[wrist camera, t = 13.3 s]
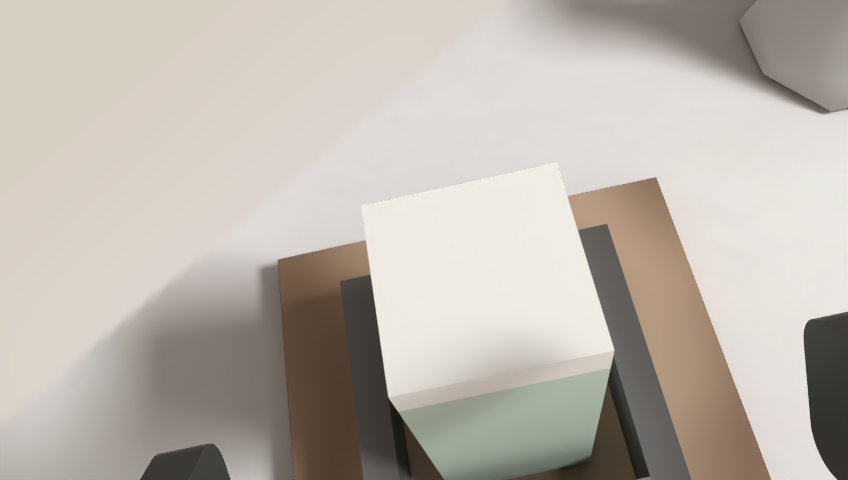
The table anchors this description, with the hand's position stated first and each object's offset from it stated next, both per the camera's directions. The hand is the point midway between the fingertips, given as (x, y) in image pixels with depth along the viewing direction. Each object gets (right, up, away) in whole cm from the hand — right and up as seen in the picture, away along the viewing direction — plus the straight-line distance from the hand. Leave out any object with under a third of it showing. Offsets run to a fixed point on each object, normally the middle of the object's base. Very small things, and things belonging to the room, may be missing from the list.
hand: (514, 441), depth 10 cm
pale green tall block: (+1, -3, +13) cm, 14 cm away
